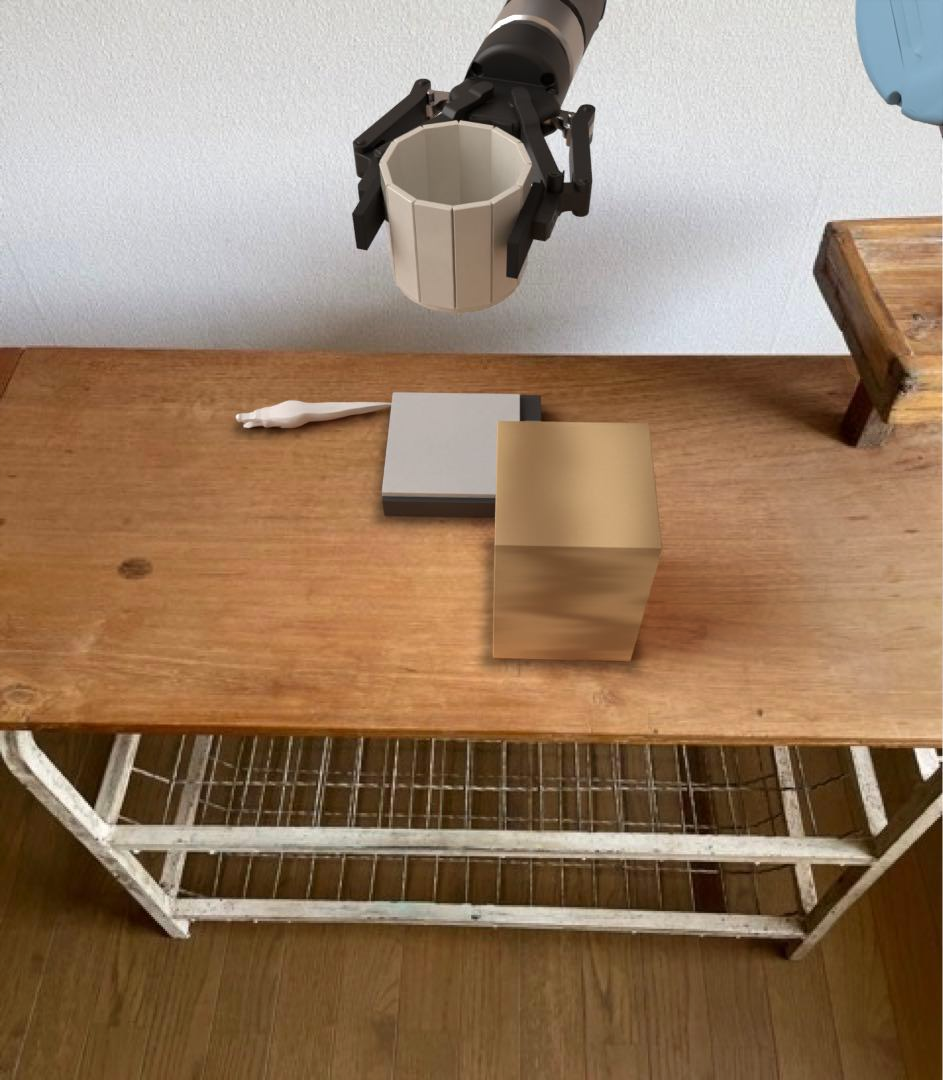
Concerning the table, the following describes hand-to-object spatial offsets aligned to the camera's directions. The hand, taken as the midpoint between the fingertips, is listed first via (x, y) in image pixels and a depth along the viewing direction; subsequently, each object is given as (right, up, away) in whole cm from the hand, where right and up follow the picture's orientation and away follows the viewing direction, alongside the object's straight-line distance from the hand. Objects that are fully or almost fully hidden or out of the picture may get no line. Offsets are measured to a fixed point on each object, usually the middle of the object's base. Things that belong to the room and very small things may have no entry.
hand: (434, 246), depth 59 cm
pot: (+1, +1, +7) cm, 7 cm away
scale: (+1, -12, +26) cm, 29 cm away
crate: (+10, -24, +17) cm, 31 cm away
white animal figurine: (-13, -7, +30) cm, 33 cm away
